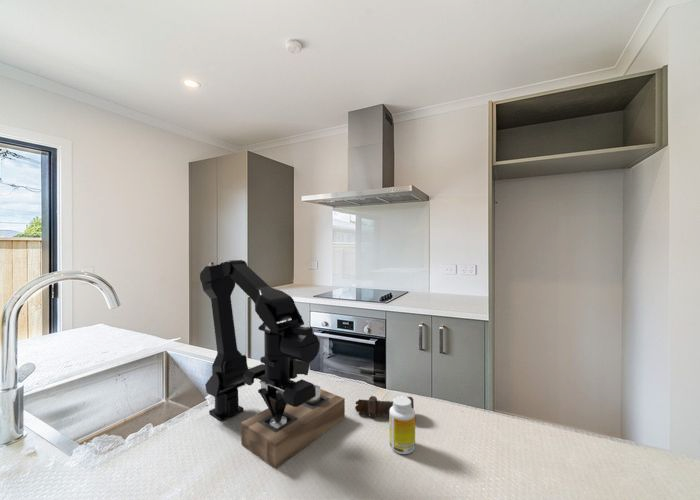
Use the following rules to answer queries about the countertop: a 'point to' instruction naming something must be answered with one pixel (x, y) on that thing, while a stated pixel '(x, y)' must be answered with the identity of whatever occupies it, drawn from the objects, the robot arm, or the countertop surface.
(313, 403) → the peg short
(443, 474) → the countertop surface
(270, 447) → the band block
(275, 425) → the peg tall
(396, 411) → the supplement bottle
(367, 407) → the bolt
